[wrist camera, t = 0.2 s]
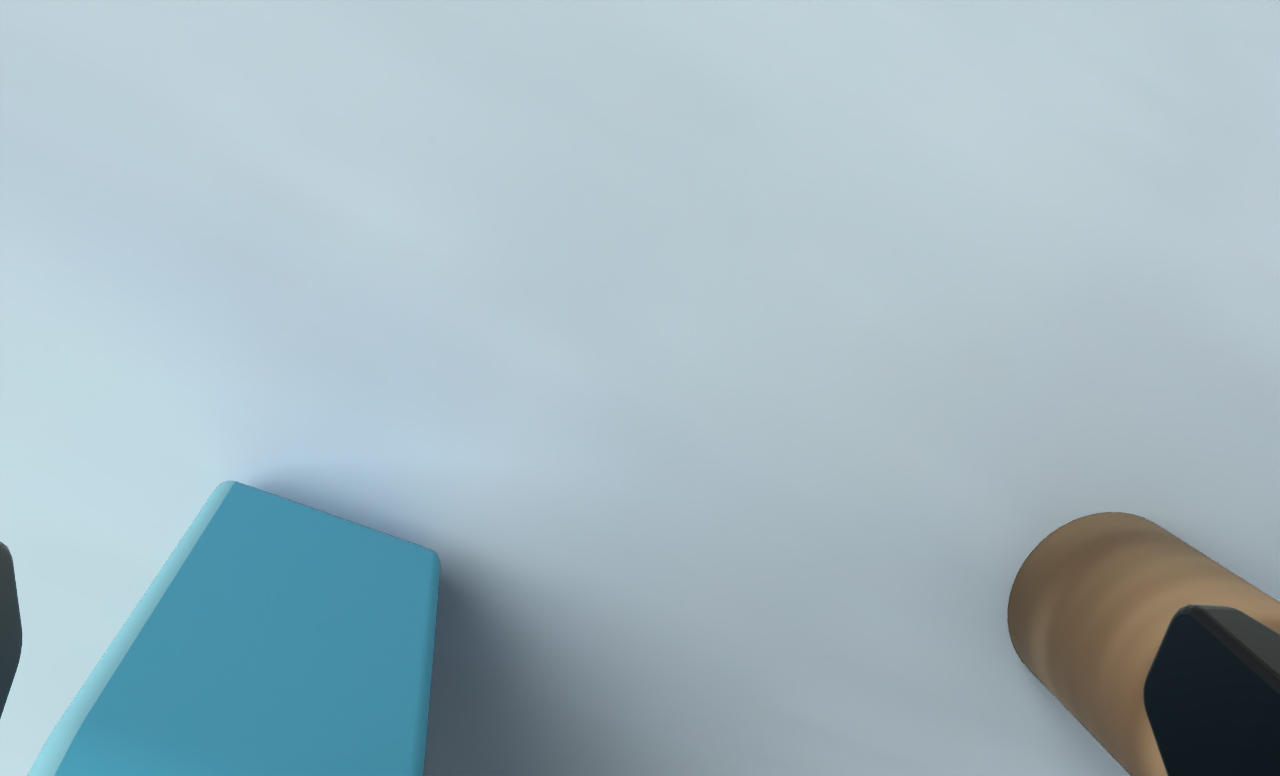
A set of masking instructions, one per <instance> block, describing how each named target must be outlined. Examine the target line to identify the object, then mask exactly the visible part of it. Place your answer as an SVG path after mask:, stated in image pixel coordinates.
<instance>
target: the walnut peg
mask: <svg viewBox="0 0 1280 776" xmlns="http://www.w3.org/2000/svg"><path fill="white" fill-rule="evenodd" d="M1189 604H1199V605H1218V606H1229V607H1233V608H1236V609H1238V610H1240V611H1242V612H1244V613H1245V614H1247V615H1249V616H1250V617H1252V618H1254V619H1255V620H1257V621H1259V622H1260V623H1262V624H1264V625H1266V626H1267V627H1269V628H1271V629H1272V630H1274V631H1276V632H1277V633H1279V634H1280V602H1278V601H1277V600H1275V599H1274V598H1272V597H1270V596H1269V595H1267V594H1266V593H1264V592H1262V591H1261V590H1259V589H1258V588H1256V587H1255V586H1253V585H1251V584H1250V583H1248V582H1247V581H1245V580H1243V579H1242V578H1240V577H1239V576H1237V575H1236V574H1234V573H1232V572H1231V571H1229V570H1228V569H1226V568H1224V567H1223V566H1221V565H1220V564H1218V563H1217V562H1215V561H1213V560H1212V559H1210V558H1209V557H1207V556H1205V555H1204V554H1202V553H1201V552H1199V551H1198V550H1196V549H1194V548H1193V547H1191V546H1190V545H1188V544H1186V543H1185V542H1183V541H1182V540H1180V539H1179V538H1177V537H1175V536H1174V535H1172V534H1171V533H1169V532H1167V531H1166V530H1164V529H1163V528H1161V527H1160V526H1158V525H1156V524H1155V523H1153V522H1151V521H1149V520H1147V519H1145V518H1142V517H1139V516H1136V515H1133V514H1127V513H1119V512H1107V513H1098V514H1093V515H1089V516H1085V517H1082V518H1079V519H1076V520H1074V521H1071V522H1069V523H1067V524H1066V525H1064V526H1062V527H1060V528H1059V529H1057V530H1056V531H1054V532H1053V533H1051V534H1050V535H1049V536H1047V537H1046V538H1045V539H1044V540H1043V541H1042V542H1040V543H1039V544H1038V546H1037V547H1036V548H1035V549H1034V550H1033V551H1032V552H1031V553H1030V555H1029V556H1028V557H1027V559H1026V560H1025V562H1024V563H1023V565H1022V567H1021V568H1020V570H1019V572H1018V574H1017V576H1016V578H1015V581H1014V583H1013V586H1012V590H1011V593H1010V597H1009V604H1008V627H1009V633H1010V637H1011V641H1012V644H1013V646H1014V648H1015V650H1016V653H1017V654H1018V656H1019V657H1020V659H1021V661H1022V662H1023V663H1024V664H1025V666H1026V667H1027V668H1028V669H1029V670H1030V671H1031V672H1032V673H1033V674H1034V675H1035V676H1036V677H1037V678H1038V679H1039V680H1040V682H1041V683H1042V684H1043V685H1044V686H1045V687H1046V688H1047V689H1048V690H1049V691H1050V692H1051V693H1052V694H1053V695H1054V696H1055V697H1056V698H1057V699H1058V700H1059V701H1060V702H1061V703H1062V704H1063V706H1064V707H1065V708H1066V709H1067V710H1068V711H1069V712H1070V713H1071V714H1072V715H1073V716H1074V717H1075V718H1076V719H1077V720H1078V721H1079V722H1080V723H1081V724H1082V725H1083V726H1084V727H1085V728H1086V729H1087V731H1088V732H1089V733H1090V734H1091V735H1092V736H1093V737H1094V738H1095V739H1096V740H1097V741H1098V742H1099V743H1100V744H1101V745H1102V746H1103V747H1104V748H1105V749H1106V750H1107V751H1108V752H1109V753H1110V754H1111V756H1112V757H1113V758H1114V759H1115V760H1116V761H1117V762H1118V763H1119V764H1120V765H1121V766H1122V767H1123V768H1124V769H1125V770H1126V771H1127V772H1128V773H1129V774H1130V775H1131V776H1167V773H1166V770H1165V767H1164V764H1163V761H1162V758H1161V755H1160V753H1159V750H1158V747H1157V744H1156V741H1155V738H1154V735H1153V732H1152V729H1151V726H1150V723H1149V720H1148V718H1147V715H1146V711H1145V707H1144V701H1143V688H1144V682H1145V678H1146V675H1147V673H1148V671H1149V668H1150V666H1151V664H1152V662H1153V659H1154V657H1155V655H1156V652H1157V650H1158V648H1159V646H1160V643H1161V641H1162V639H1163V637H1164V634H1165V632H1166V630H1167V628H1168V625H1169V623H1170V621H1171V619H1172V617H1173V615H1174V614H1175V613H1176V612H1177V611H1178V610H1179V609H1180V608H1181V607H1183V606H1186V605H1189Z"/></svg>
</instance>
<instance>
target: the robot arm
mask: <svg viewBox="0 0 1280 776" xmlns="http://www.w3.org/2000/svg"><path fill="white" fill-rule="evenodd" d="M21 647H22V627H21V619H20V612H19V604H18V597H17V589H16V582H15V574H14V567H13V560H12V556H11V554H10V551H9V549H8V547H7V546H6V545H4V544H3V543H2V542H0V718H1V715H2V712H3V709H4V706H5V703H6V700H7V697H8V694H9V691H10V688H11V685H12V682H13V679H14V676H15V673H16V670H17V667H18V663H19V659H20V654H21ZM1143 701H1144V707H1145V711H1146V715H1147V718H1148V720H1149V723H1150V726H1151V729H1152V732H1153V735H1154V738H1155V741H1156V744H1157V747H1158V750H1159V753H1160V755H1161V758H1162V761H1163V764H1164V767H1165V770H1166V773H1167V776H1280V634H1279V633H1277V632H1276V631H1274V630H1272V629H1271V628H1269V627H1267V626H1266V625H1264V624H1262V623H1260V622H1259V621H1257V620H1255V619H1254V618H1252V617H1250V616H1249V615H1247V614H1245V613H1244V612H1242V611H1240V610H1238V609H1236V608H1233V607H1229V606H1218V605H1199V604H1189V605H1186V606H1183V607H1181V608H1180V609H1179V610H1178V611H1177V612H1176V613H1175V614H1174V615H1173V617H1172V619H1171V621H1170V623H1169V625H1168V628H1167V630H1166V632H1165V634H1164V637H1163V639H1162V641H1161V643H1160V646H1159V648H1158V650H1157V652H1156V655H1155V657H1154V659H1153V662H1152V664H1151V666H1150V668H1149V671H1148V673H1147V675H1146V678H1145V682H1144V688H1143Z"/></svg>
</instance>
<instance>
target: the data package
mask: <svg viewBox="0 0 1280 776" xmlns="http://www.w3.org/2000/svg"><path fill="white" fill-rule="evenodd" d="M439 579H440V560H439V557H438V555H437V554H436V553H435V552H434V551H432V550H430V549H427V548H424V547H422V546H419V545H416V544H413V543H410V542H407V541H404V540H402V539H399V538H396V537H393V536H390V535H387V534H384V533H382V532H379V531H376V530H373V529H370V528H367V527H364V526H362V525H359V524H356V523H353V522H350V521H347V520H344V519H342V518H339V517H336V516H333V515H330V514H327V513H324V512H322V511H319V510H316V509H313V508H310V507H307V506H304V505H302V504H299V503H296V502H293V501H290V500H287V499H285V498H282V497H279V496H276V495H273V494H270V493H267V492H265V491H262V490H259V489H256V488H253V487H250V486H247V485H245V484H242V483H239V482H236V481H226V482H223V483H221V484H220V485H219V486H218V487H217V488H216V489H215V490H214V491H213V493H212V494H211V496H210V497H209V499H208V500H207V502H206V503H205V505H204V506H203V508H202V509H201V511H200V512H199V514H198V515H197V517H196V518H195V520H194V521H193V523H192V524H191V526H190V527H189V529H188V530H187V532H186V533H185V535H184V536H183V538H182V539H181V541H180V542H179V543H178V545H177V546H176V548H175V549H174V551H173V552H172V554H171V555H170V557H169V558H168V560H167V561H166V563H165V564H164V566H163V567H162V569H161V570H160V572H159V573H158V575H157V576H156V578H155V579H154V581H153V582H152V584H151V585H150V587H149V588H148V590H147V591H146V593H145V594H144V596H143V597H142V598H141V600H140V601H139V603H138V604H137V606H136V607H135V609H134V610H133V612H132V613H131V615H130V616H129V618H128V619H127V621H126V622H125V624H124V625H123V627H122V628H121V630H120V631H119V633H118V634H117V636H116V637H115V639H114V640H113V642H112V643H111V645H110V646H109V648H108V649H107V651H106V652H105V653H104V655H103V656H102V658H101V659H100V661H99V662H98V664H97V665H96V667H95V668H94V670H93V671H92V673H91V674H90V676H89V677H88V679H87V680H86V682H85V683H84V685H83V686H82V688H81V689H80V691H79V692H78V694H77V695H76V697H75V698H74V700H73V701H72V703H71V704H70V706H69V707H68V708H67V710H66V711H65V713H64V714H63V716H62V717H61V719H60V720H59V722H58V723H57V725H56V727H55V728H54V730H53V731H52V733H51V734H50V736H49V738H48V739H47V741H46V743H45V744H44V746H43V748H42V750H41V752H40V753H39V755H38V757H37V759H36V761H35V762H34V764H33V766H32V768H31V770H30V772H29V774H28V776H423V775H424V762H425V750H426V738H427V726H428V714H429V701H430V689H431V677H432V665H433V653H434V640H435V628H436V616H437V604H438V592H439Z"/></svg>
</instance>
